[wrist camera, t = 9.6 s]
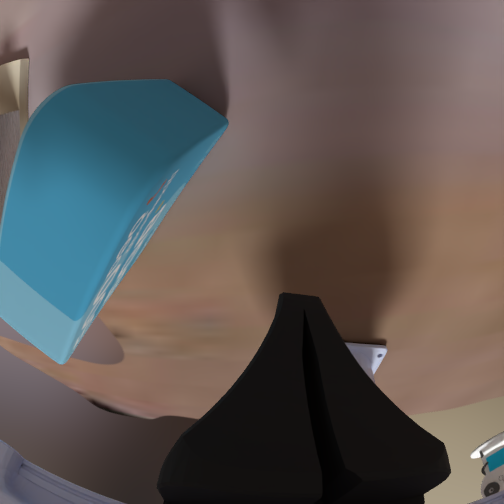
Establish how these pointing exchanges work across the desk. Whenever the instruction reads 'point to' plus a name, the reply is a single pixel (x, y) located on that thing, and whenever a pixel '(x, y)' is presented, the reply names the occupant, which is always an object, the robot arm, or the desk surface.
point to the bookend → (11, 117)
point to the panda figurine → (491, 464)
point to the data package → (92, 198)
